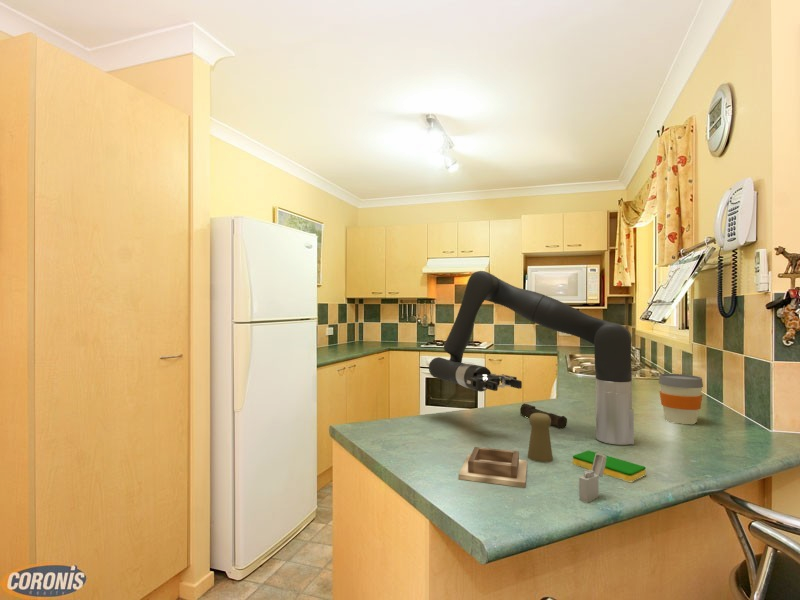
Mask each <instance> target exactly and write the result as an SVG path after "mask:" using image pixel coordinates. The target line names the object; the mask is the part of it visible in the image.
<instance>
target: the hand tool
mask: <svg viewBox="0 0 800 600" xmlns="http://www.w3.org/2000/svg"><path fill="white" fill-rule="evenodd" d="M533 413H543V414H547V415H548V416H549V417H550V419H551V425H552V426H553V427H557V428H558V429H559V430H560V429H565V428H566V427H567V423H568V418H567V417H566V416H564V415H562V416H561V415H558V414H555V413H552V412H547V411H543V410H540V409H537V408H536V406H534V405H531V404H527V403H523V404H521V406H520V408H519V414H520V415H521V414H522V415H524V416H526V417H528V418H530V416H531V414H533ZM522 415H521V416H522ZM526 417H525V418H526ZM528 418H527V419H528ZM551 425H550V426H551Z"/></svg>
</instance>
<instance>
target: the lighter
mask: <svg viewBox="0 0 800 600" xmlns="http://www.w3.org/2000/svg"><path fill="white" fill-rule="evenodd" d="M606 456H607V455H606ZM606 456H605V454H603V455H602V453H598V452H596V454H595V458H594V462H593V466H592V470H590V469H587V470H584V471H583V475H581V476H579V479H578V482H579V483H578V487H579V488H578V490H579V493H578V495H579V500H580V501H582V502H584V501H585V503H589V502H591V500H592V501H593V500H596V499H599V498H598V497H599V494H600V493H599V492H600V491H599V489H600V488H599V486H600V485H599V482H600V481H599V479H600V478H599V477H601V478H602V477H603V475H604V474H603V472H604V468H605V464H606V460H607V457H606ZM595 498H596V499H595Z"/></svg>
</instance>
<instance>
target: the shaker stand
mask: <svg viewBox="0 0 800 600" xmlns="http://www.w3.org/2000/svg"><path fill="white" fill-rule="evenodd" d="M527 466H528V460H526V459H520V452H519V451H518V450H510V449H509V450H508V449H501V448H500V449H499V448H490V447H489V448H488V447H481V446H479V447H478V446H474V447H473V450H472V451H471V454H470V453H468V454H467V456H466V458H465V461H464V462H463V465H462V466H461V469H460V470H459V473H458V480H462V481H464V480H465V481H473V482H479V483H486V484H487V483H488V484H493V485H494V484H496V485H502V486H510V487H517V488H526V482H527V472H528V471H527V469H528V467H527Z"/></svg>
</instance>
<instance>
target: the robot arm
mask: <svg viewBox="0 0 800 600" xmlns="http://www.w3.org/2000/svg"><path fill="white" fill-rule="evenodd" d="M484 301H487V302H490V303H494V304H497V305H499V306H503V307H504V308H508V309H509V310H511V311H513V312H515V313H516V314H518V315H519V316H520V317H522V318H524V319H526V320H528V321H530V322H532V323H534V324H537V325H539V326H541V327H544V328H546V329H550V330H551V331H554V332H555V331H556V332H559V333H563V334H567V335H571V336H575V337H577V338H580V339H582V340H584V341H586V342H588V343H590V344H592V345H594V347H593V348H594V349H593V350H594V370H595V438H596V439H595V440H598V441H600V442H602V443H606V444H608V445H609V444H610V445H616V446H617V445H618V446H619V445H620V446H625V445H635V433H634V432H635V431H634V430H635V423H634V422H635V421H634V420H635V417H634V416H635V414H634V413H635V411H634V409H633V408H632V407H633V401H632V399H633V396H632V395H633V393H632V392H633V391H632V390H633V389H632V386H633V385H632V383H633V382H632V381H633V379H632V378H633V377H632V376H633V375H632V374H633V371H632V342H633V341H632V340H633V338H632V337H633V336H632V334H631V332H630V330H628V328H627V327H625V326H624V325H622V324H620V323H616V322H612V321H609V320H604V319H601V318H598V317H594V316H593V315H590V314H589V315H588V314H586V313H584V312H582V311H580V310H578V309H577V308H574V307H573V306H571V305H569V304H567V303H564V302H563V301H560V300H558V299H556V298H553V297H551V296H548V295H545V294H543V293H540V292H536V291H532V290H529V289H524V288H520V287H517V286H514V285H513V284H509V283H508V282H506V281H504V280H502V279H500V278H498V277H497V276H496V275H494V274H492V273H489V272H488V271H484V270H479V271H475V272H474V273H472V274H471V275H470V276H469V278H468V280H467V283H466V287H465V290H464V294H463V297H462V301H461V303H460V305H459V306H460V307H459V310H458V313H457V316H456V318H455V320H454V323H453V325H452V327H451V329H450V330H449V331H450V332H449V334H448V335H447V338H446V341H445V342H444V345H443V350H444V351H445V353H447V354H449V355H450V357H449V359H446V358H444V357H435V358H433V359H431V360H430V362H429V364H428V371H429V374H430V375H431V377H433V378H434V379H435V378H436V379H439V380H441V381H447V382H449V383H450V382H451V383H453V384H456V385H459V386H462V387H464V388H466V389H469V390H473V391H476V392H482V393H483V392H485V391H487V390H489V391H493V392H497V391H498V389H499V388H501V389H504V388H505V387H509V388H513V389H514V388H515V389H518V390H520V389H522V388H523V385H522V384H523V382H522V380H520V379H518V378H517V376H513V375H512V376H511V375H507V374H496V373H492V372H491V371H490V369H489V368H488V367H486V366H483V365H478V364H473V363H464V362H463V357H464V353H465V351H466V349H467V346H468V344H469V342H470V339H471V337H472V334H473V330H474V327H475V321H476V318H477V314H478V313H479V311H480V308H481V306H482V305H483V303H484Z"/></svg>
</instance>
